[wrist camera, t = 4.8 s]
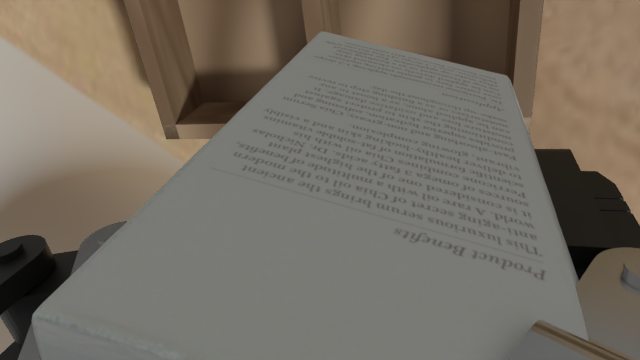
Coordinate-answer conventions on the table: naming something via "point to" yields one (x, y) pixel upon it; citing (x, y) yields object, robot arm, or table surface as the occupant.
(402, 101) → the skincare box
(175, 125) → the slot rack
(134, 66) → the table surface
